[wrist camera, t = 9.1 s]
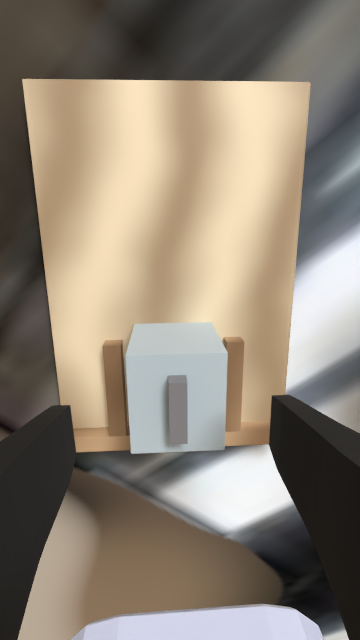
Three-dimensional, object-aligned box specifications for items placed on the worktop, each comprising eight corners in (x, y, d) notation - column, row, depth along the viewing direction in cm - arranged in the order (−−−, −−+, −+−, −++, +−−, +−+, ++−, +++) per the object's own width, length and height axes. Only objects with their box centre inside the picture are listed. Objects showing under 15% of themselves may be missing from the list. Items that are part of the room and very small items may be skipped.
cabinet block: (211, 322, 20) (231, 359, 14) (210, 398, 21) (227, 461, 15) (134, 323, 19) (123, 362, 14) (138, 401, 21) (129, 465, 15)
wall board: (300, 91, 18) (319, 73, 16) (275, 423, 23) (287, 443, 21) (31, 89, 17) (13, 69, 15) (70, 431, 22) (60, 452, 20)
